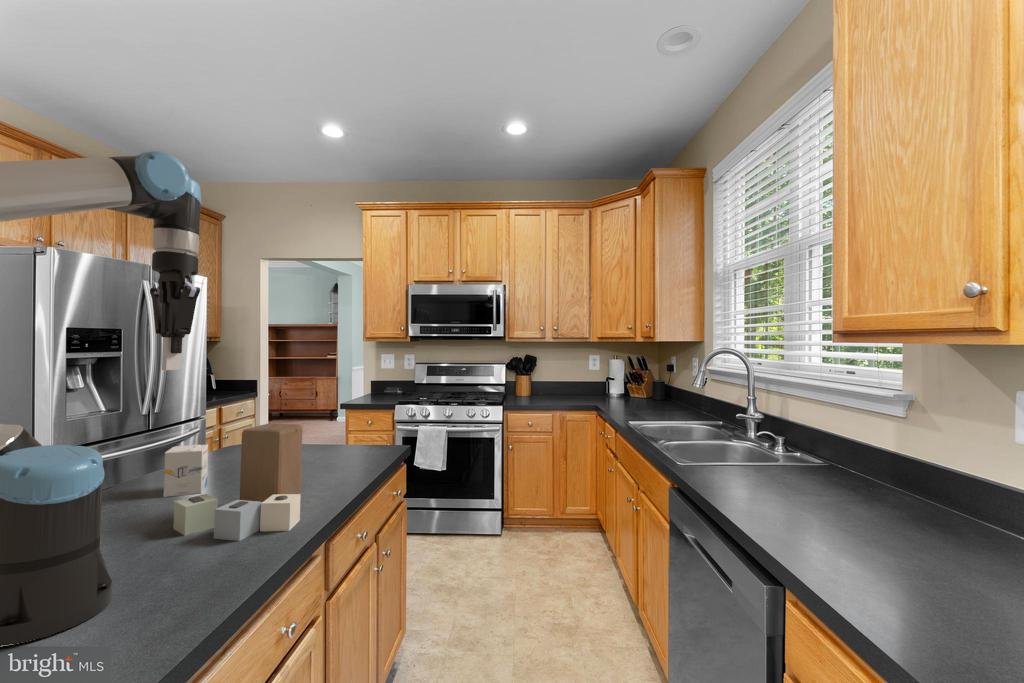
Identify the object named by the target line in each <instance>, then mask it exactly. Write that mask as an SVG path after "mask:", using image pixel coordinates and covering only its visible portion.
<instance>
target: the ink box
mask: <svg viewBox="0 0 1024 683" xmlns="http://www.w3.org/2000/svg"><path fill="white" fill-rule="evenodd" d="M208 459H209V444H208V443H207V444H190V445H179V446H173V447H171V448H169V449H168V450H166V451H165V452H164V475H163V476H164V477H163V494H162V495H163V498H166V497H169V498H170V497H178V496H189V495H199V494H200V495H202V493H203V491H204V490H205V488H206V487H207V485H208V475H209V474H208V470H209V469H208V468H209V465H208V464H209V460H208Z"/></svg>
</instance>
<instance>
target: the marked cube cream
mask: <svg viewBox="0 0 1024 683" xmlns="http://www.w3.org/2000/svg"><path fill="white" fill-rule="evenodd" d="M301 494H302V493H301ZM301 494H273V495H272V496H270V497H269V498H268V499H266V500H265V501H264V502H262V503H261V517H260V530H259V531H260V532H289V531H291V530H292V529H293V527H296V525H297V523H299V522H300V521H301Z"/></svg>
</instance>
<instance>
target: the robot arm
mask: <svg viewBox="0 0 1024 683" xmlns="http://www.w3.org/2000/svg"><path fill="white" fill-rule="evenodd" d="M202 205H203V204H202V193H201V186H200V184H199V183H198V182H197V181H196V180H195V179H192V178H191V177H190V176H189V172H188V171H187V169H186V166H184V164H183V163H182V162H181V160H179V159H178V158H177V157H175V156H174V155H172V154H169V153H167V152H165V151H160V150H153V151H144V152H141V153H139V154H138V155H124V156H123V155H122V156H109V157H108V156H107V157H106V156H101V157H99V156H98V157H95V156H94V157H76V158H52V159H32V160H31V159H27V160H7V161H6V160H4V161H2V160H1V161H0V223H1V222H2V223H3V222H10V221H16V220H17V221H18V220H27V219H31V218H41V217H50V216H56V215H64V214H70V213H80V212H88V211H95V210H103V209H105V210H110V211H114V212H119V213H122V214H127V215H132V216H135V217H140V218H145V219H150V220H152V221H153V226H152V246H151V247H152V249H153V250H154V252H153V253H152V254H151V269H152V271H153V272H156V273H159V277H158V281H157V285H158V286H157V287H156V288H154V287H151V288H150V289H149V293H150V297H151V299H152V309H153V311H152V312H153V318H154V329H155V333H156V334H157V335H160V336H161V338H162V354H161V355H162V357H161V371H180V370H182V356H183V355H182V354H183V353H182V352H183V338H185V336H186V335H190V334H191V332H192V327H193V321H194V316H195V311H196V305H197V300H198V298H199V295H200V293H201V288H200V287H198V286H194V285H193V279H192V277H193V276H196V275H198V273H199V258H198V256H197V255H199V252H200V251H199V248H200V245H201V244H200V227H201V224H200V223H201V209H202ZM103 463H104V461H103V456H102V455H101V453H100V452H99V451H97V450H96V449H94V448H91V447H88V446H83V445H70V444H53V445H52V444H50V445H42V444H41V442H39V441H38V440H37V439H36V438H35V437H34V436H33V435H32V434H31V433H29V432H28V431H27V430H26V429H25V428H24V427H23V426H22V425H20V424H6V423H5V424H3V423H0V646H1V645H9V644H17V643H21V642H26V641H30V640H34V639H38V638H41V639H44V638H47V637H50V636H53V635H55V633H56V634H58V633H57V632H59V633H61V632H63V630H64V631H66V630H68V628H69V629H71V628H73V627H75V626H78V625H80V624H82V623H83V622H86V621H87V620H90V619H91V618H94V617H95V616H96V615H98V614H99V613H101V612H102V611H103V610H104V609H105V608H107V606H109V605H110V603H112V600H113V598H114V580H113V578H112V575H111V572H110V570H109V567H108V566H107V564H106V561H105V558H104V556H103V554H102V552H101V529H102V528H101V527H102V512H103V511H102V510H103V507H102V506H103V490H104V488H103V487H104V480H105V474H106V472H105V468H104V464H103ZM60 631H61V632H60ZM52 634H53V635H52ZM43 637H44V638H43ZM38 640H39V639H38ZM34 641H35V640H34Z"/></svg>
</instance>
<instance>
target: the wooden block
mask: <svg viewBox="0 0 1024 683" xmlns="http://www.w3.org/2000/svg"><path fill="white" fill-rule="evenodd" d="M303 430H304V428H303V425H300V424H297V423H296V424H294V423H293V424H292V423H265V424H259V425H257V426H253V427H248V428H246V429H242V432H241V447H240V449H241V450H240V475H239V476H240V477H239V478H240V480H239V500H246V501H258V502H264V501H265V500H266V499H268V498H269V497H270V496H272V495H273V494H302V493H301V491H302V490H301V488H302V485H301V484H302V483H301V482H302V460H303V459H302V458H303V457H302V456H303V455H302V454H303Z"/></svg>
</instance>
